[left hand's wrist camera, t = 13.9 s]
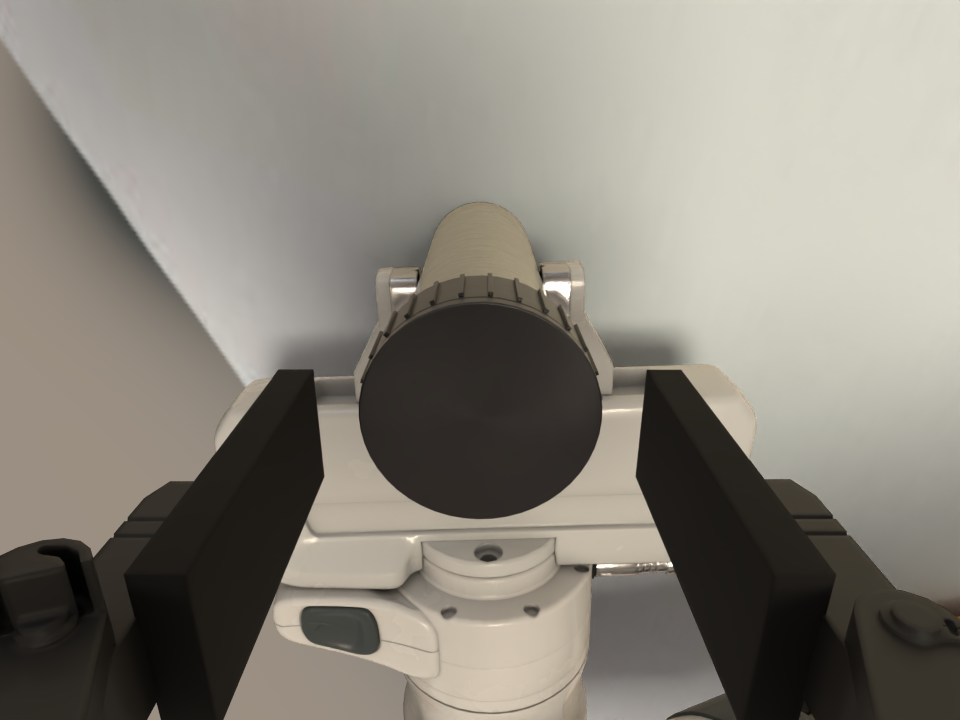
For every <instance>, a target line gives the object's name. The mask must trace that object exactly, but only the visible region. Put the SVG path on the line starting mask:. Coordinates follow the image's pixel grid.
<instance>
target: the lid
mask: <svg viewBox="0 0 960 720" xmlns="http://www.w3.org/2000/svg"><path fill="white" fill-rule="evenodd" d="M368 358H369V361H368V363H367V366H366V368H365V370H364V373H363V375H362V378H361V381H360V383H362V386H361V391H360V397H359V423H360V430H361V434H362V437H363V441H364V444H365V446H366V449H367V451H368V453H369V455H370V457H371V459H372V461H373V462H374V464H375V465H376V467H377V469H378V470H379V471H380V472H381V474H382V475H383V476H384V477H385V479H386V480H387V481H388V482H389V483H390V484H391V485H392V486H394V487H395V488H396V489H397V490H398V491H399V492H401V493H402V494H403V495H405V496H406V497H407V498H409V499H410V500H412V501H414V502H416V503H417V504H419V505H421V506H423V507H426V508H428V509H430V510H433V511H435V512H438V513H442V514H445V515H448V516H454V517H459V518H466V519H495V518H502V517H508V516H512V515H516V514H520V513H523V512H526V511H528V510H531V509H533V508H536V507H538V506H540V505H542V504H543V503H545V502H547V501H549V500H550V499H552V498H553V497H555V496H556V495H558V494H559V493H561V492H562V491H563V490H564V489H565V488H566V487H567V486H569V485H570V484H571V483H572V482H573V481H574V479H575V478H576V477H577V476H578V475H579V474H580V473H581V471H582V470H583V468H584V467H585V465H586V464H587V462H588V461H589V459H590V457H591V455H592V453H593V451H594V449H595V446H596V443H597V440H598V437H599V434H600V429H601V423H602V400H603V398H602V394H601V391H600V387H599V383H598V380H597V375H599V373H598V370H597V368H596V365H595V363H594V361H593V358H592V356H591V354H590V351H589V349H588V347H587V345H586V343H585V340H584V338H583V336H582V333H581V331H580V328H579V326H578V325H577V324H575V325H573V323H572V321H571V320H570V319H569V317H568V316H567V314H566V312H565V309H564V307H563V306H562V305H561V304H560V305H559V306H558V305H557V304H556V303H554V302H553V301H552V300H551V299H550V298H548V297H547V296H545V295H544V292H543V290H542V289H540V288H539V290H536V289H534V288H532V287H530V286H528V285H526V284H523V283H520V282H519V279H517V278H514V280H511V279H507V278H502V277H497V276H492V273H488V274H487V276H485V275H479V276H465V274H460V277H459V278H453V279H450V280H447V281H443V282H440V283H439V281H435V282H434V284H433V286H431V287H429V288H427V289H425V290H423V291H422V292H420V293H419V294H417V295H416V294H415V293H413V294H412V295H411V296H410V299H409V301H408V302H407V303H405V304H404V305H403V306H402V307H401V308H400V309H399V310H398V311H396V310H394V311H393V312H392V314H391V317H390V319H389V321H388V324H387V326H386V327H385V330H384V332H382V331H380V332H379V334H378V336H377V338H376V341H375V343H374V345H373V348H372V350H371V352H370V355H369V357H368Z"/></svg>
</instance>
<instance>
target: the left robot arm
mask: <svg viewBox="0 0 960 720" xmlns="http://www.w3.org/2000/svg"><path fill="white" fill-rule="evenodd" d="M324 477H325V476H324V466H323V457H322V447H321V438H320V428H319V419H318V409H317V400H316V390H315V381H314V371H313V370H278V371H277V372H276V374H275V375H274V376H273V378H272V379H271V380H270V382H269V383H268V384H267V386H266V387H265V388H264V390H263V391H262V392H261V394H260V395H259V396H258V398H257V399H256V400H255V402H254V403H253V404H252V406H251V407H250V408H249V409H248V411H247V412H246V413H245V415H244V416H243V417H242V419H241V420H240V421H239V423H238V424H237V425H236V427H235V428H234V429H233V431H232V432H231V433H230V435H229V436H228V437H227V439H226V440H225V441H224V442H223V444H222V445H221V446H220V448H219V449H218V450H217V452H216V453H215V455H214V456H213V457H212V458H211V460H210V461H209V462H208V464H207V465H206V466H205V468H204V469H203V470H202V472H201V473H200V474H199V476H198V477H197V478H196V479H195V481H170V482H169V483H167V484H165V485H164V486H162V487H161V488H159V489H158V490H156V491H154V492H153V493H151V494H150V495H148V496H147V497H145V498H144V499H143V500H142V501H141V503H140V504H139V505H138V506H137V507H136V508H135V510H134V511H133V512H132V513H131V514H130V515H129V517H128V521H124V523H123V524H122V525H121V526H120V527H119V528H118V530H117V531H116V532H115V533H114V537H113V538H110V539H109V540H108V541H107V542H106V544H105V545H104V546H103V547H102V548H101V550H100V551H99V552H98V553H97V554H96V555H95V557H94V558H93V556H92V552H91V549H90V548H89V547H88V546H87V545H85V544H84V543H83V542H81V541H77V540H71V539H65V538H61V539H52V540H42V541H39V542H35V543H31V544H28V545H25V546H21V547H18V548H15V549H13V550H11V551H9V552H7V553H5V554H3V555H1V556H0V720H147V719H148V717H149V715H150V713H151V711H152V710H153V708H154V706H155V704H156V702H157V706H158V710H159V714H160V718H161V720H223V719H224V717H225V714H226V712H227V710H228V707H229V705H230V702H231V700H232V697H233V695H234V693H235V690H236V688H237V686H238V683H239V681H240V678H241V676H242V674H243V671H244V669H245V666H246V664H247V662H248V659H249V657H250V654H251V652H252V650H253V647H254V645H255V642H256V640H257V638H258V635H259V633H260V630H261V628H262V626H263V623H264V621H265V618H266V616H267V614H268V611H269V609H270V606H271V604H272V602H273V599H274V597H275V594H276V592H277V590H278V587H279V585H280V582H281V580H282V578H283V575H284V573H285V570H286V568H287V566H288V563H289V561H290V558H291V556H292V554H293V551H294V549H295V546H296V544H297V542H298V539H299V537H300V534H301V532H302V530H303V527H304V525H305V522H306V520H307V518H308V515H309V513H310V510H311V508H312V506H313V503H314V501H315V498H316V496H317V494H318V491H319V489H320V486H321V484H322V482H323V479H324ZM635 477H636V479H637V482H638V484H639V486H640V489H641V491H642V494H643V496H644V498H645V501H646V503H647V506H648V508H649V510H650V513H651V515H652V518H653V520H654V522H655V525H656V527H657V530H658V532H659V534H660V537H661V539H662V542H663V544H664V546H665V549H666V551H667V554H668V556H669V558H670V561H671V563H672V566H673V568H674V570H675V573H676V575H677V578H678V580H679V582H680V585H681V587H682V590H683V592H684V594H685V597H686V599H687V602H688V604H689V606H690V609H691V611H692V614H693V616H694V618H695V621H696V623H697V626H698V628H699V630H700V633H701V635H702V638H703V640H704V642H705V645H706V647H707V650H708V652H709V654H710V657H711V659H712V662H713V664H714V666H715V669H716V671H717V674H718V676H719V678H720V681H721V683H722V686H723V688H724V690H725V693H726V695H727V698H728V700H729V702H730V705H731V707H732V710H733V712H734V714H735V717H736V719H737V720H799V718H800V714H801V710H802V706H803V702H804V701H805V703H806V704H807V706H808V708H809V710H810V712H811V714H812V715H813V717H814V719H815V720H960V619H958V618H957V617H956V616H955V615H953V614H952V613H951V612H950V611H949V610H947V609H945V608H943V607H941V606H940V605H938V604H936V603H934V602H932V601H930V600H928V599H927V598H924V597H921V596H918V595H915V594H912V593H909V592H906V591H902V590H896V589H895V587H894V586H893V585H892V584H891V583H890V582H889V580H888V579H887V578H886V577H885V576H884V575H883V573H882V572H881V571H880V570H879V569H878V568H877V566H876V565H875V564H874V563H873V562H872V561H871V559H870V558H869V557H868V556H867V555H866V554H865V552H864V551H863V550H862V549H861V548H860V547H859V545H858V544H857V543H856V542H855V541H854V540H853V538H852V537H851V536H847V531H846V530H845V529H844V528H843V527H842V526H841V524H840V523H839V522H838V521H837V520H836V519H833V515H832V514H831V513H830V512H829V510H828V509H827V508H826V507H825V506H824V505H823V503H822V502H821V501H820V500H819V499H818V498H817V496H815V495H814V494H812V493H811V492H809V491H808V490H806V489H804V488H803V487H801V486H800V485H798V484H797V483H795V482H794V481H792V480H790V479H764V478H763V477H762V476H761V474H760V473H759V472H758V470H757V469H756V468H755V466H754V465H753V464H752V462H751V461H750V460H749V458H748V457H747V456H746V454H745V453H744V452H743V450H742V449H741V448H740V446H739V445H738V444H737V442H736V441H735V440H734V439H733V437H732V436H731V435H730V433H729V432H728V431H727V429H726V428H725V427H724V425H723V424H722V423H721V421H720V420H719V419H718V417H717V416H716V415H715V413H714V412H713V411H712V409H711V408H710V407H709V406H708V404H707V403H706V402H705V400H704V399H703V398H702V396H701V395H700V394H699V392H698V391H697V390H696V388H695V387H694V386H693V384H692V383H691V382H690V380H689V379H688V378H687V376H686V375H685V374H684V372H683V371H682V370H647V371H646V381H645V390H644V400H643V409H642V419H641V428H640V438H639V447H638V457H637V466H636V476H635Z"/></svg>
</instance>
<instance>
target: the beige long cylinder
mask: <svg viewBox="0 0 960 720" xmlns="http://www.w3.org/2000/svg"><path fill="white" fill-rule="evenodd" d="M488 273H492V276H497V277H502V278H507V279H511V280H514V278H517V279H519V282H520V283H523V284H526V285H528V286H530V287H532V288H534V289H536V290H539V288H540V289H542V290H543V292H544V295H545V296H547V294H546V291H545V288H544V285H543V282H542V279H541V276H540V273H539V270H538V267H537V264H536V261H535V258H534V255H533V252H532V249H531V246H530V243H529V240H528V237H527V234H526V232H525V230H524V228H523V226H522V224H521V223H520V222H519V220H518V219H517V218H516V217H515V216H514V215H513V214H512V213H510V212H509V211H508V210H506V209H504V208H502V207H501V206H498V205H495V204H491V203H484V202H476V203H470V204H466V205H463V206H460V207H458V208H456V209H455V210H453V211H452V212H450V213H449V214H448V215H447V216H446V217H445V218H444V219H443V220H442V221H441V223H440V224H439V226H438V227H437V229H436V231H435V234H434V237H433V240H432V243H431V246H430V249H429V252H428V255H427V258H426V261H425V264H424V267H423V270H422V273H421V276H420V279H419V282H418V285H417V288H416V291H415V294H416V295H417V294H419V293H420V292H422V291H423V290H425V289H427V288H429V287H431V286H433V284H434V282H435V281H439V283H440V282H443V281H447V280H450V279H453V278H459V277H460V274H465V276H479V275H485V276H487V274H488Z"/></svg>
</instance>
